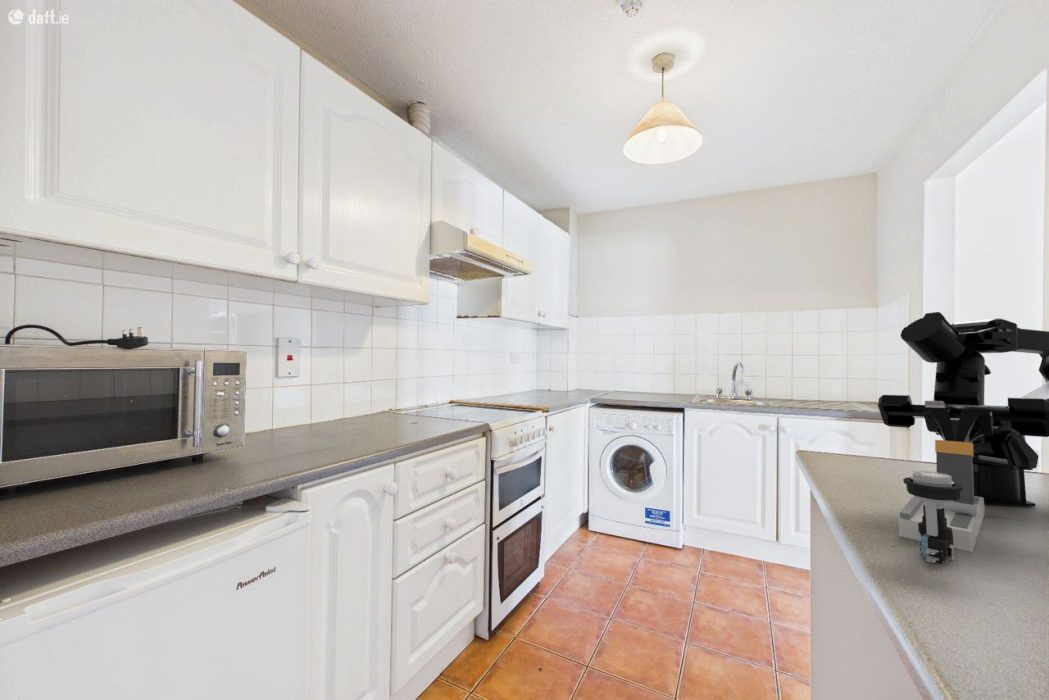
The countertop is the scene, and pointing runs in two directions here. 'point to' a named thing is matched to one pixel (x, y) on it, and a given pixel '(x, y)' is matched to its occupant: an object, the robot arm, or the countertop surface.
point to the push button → (934, 512)
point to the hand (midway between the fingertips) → (955, 457)
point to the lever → (957, 472)
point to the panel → (961, 524)
